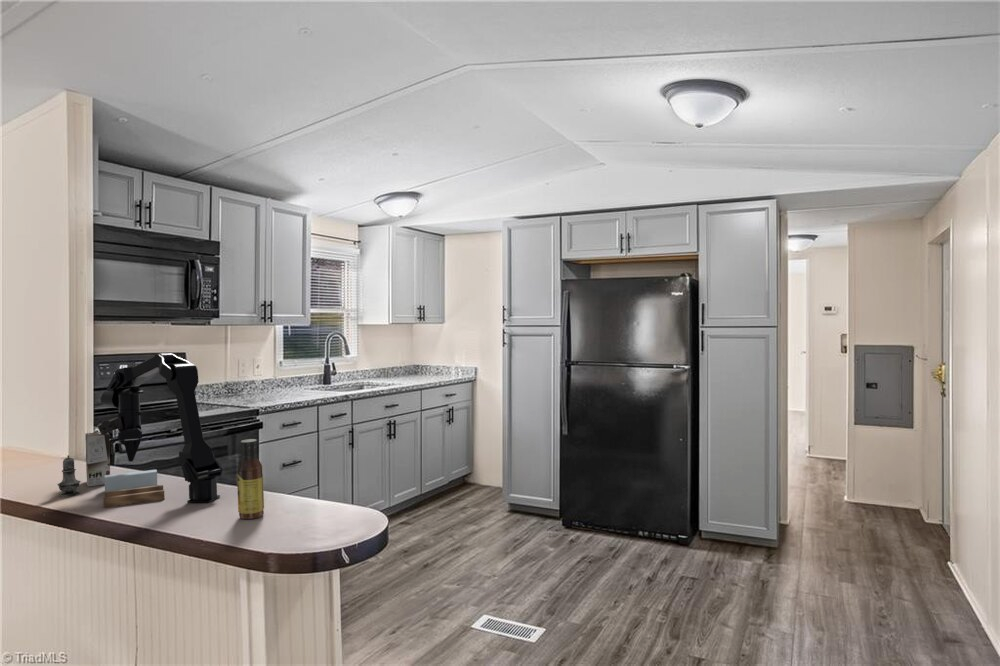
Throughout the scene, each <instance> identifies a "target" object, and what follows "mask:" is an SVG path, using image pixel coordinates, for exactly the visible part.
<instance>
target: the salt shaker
mask: <svg viewBox="0 0 1000 666" xmlns="http://www.w3.org/2000/svg"><path fill="white" fill-rule="evenodd" d="M76 470H77V469H76V468H75V459H74V458H72V457H70V455H69V454H68V455H67V456H66V457H65V458H63V461H62V470H61V473H62V480H61V481H60V482H59V483H57V484H56V485H57V486H58V489H59V491H61V492H62V493H60V494H59V495H58V497H59V498H69V497H74V496H79V494H80V492H79V491H77V490H78V488H79V487H80V483H81V482H82V480H78V479H76V475H75V473H76Z"/></svg>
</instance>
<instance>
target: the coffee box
mask: <svg viewBox="0 0 1000 666" xmlns="http://www.w3.org/2000/svg"><path fill="white" fill-rule="evenodd" d="M84 434H85V439H84V440H85V470H86V472H85V473H86V483H87V484H86V485H87V487H92V486H93V487H94V486H95V487H96V486H103V485H105V475H111V457H110V455H111V454H110V452H111V450H110V432H108V433H107V434H105V435H101V433H100V431H95V432H86V433H84Z"/></svg>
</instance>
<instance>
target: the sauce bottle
mask: <svg viewBox="0 0 1000 666" xmlns="http://www.w3.org/2000/svg"><path fill="white" fill-rule="evenodd" d="M239 442H240V443H239V444H240V445H239V446H240V450H241V452H240V453H241V456H240V462H239V465H238V467H237V470H236V483H237V484H236V485H237V510H238V514H239V515H238V516H239V518H240V519H241V520H255V519H258V518H260V517H263V515H264V512H265V511H264V509H265V498H264V497H265V496H264V491H265V490H264V474H263V466H262V463H261V461H260V460H259V458H258V452H257V451H258V448H257V447H258V439H255V438H249V439H243V440H241V441H239Z"/></svg>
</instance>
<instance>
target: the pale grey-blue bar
mask: <svg viewBox="0 0 1000 666" xmlns="http://www.w3.org/2000/svg"><path fill="white" fill-rule="evenodd" d="M156 485H158V470H157V469H149V470H141V471H140V470H139V471H131V472H130V471H129V472H124V473H122V472H121V473H113V474H110V475H105V484H104V492H108V491H116V490H124V489H132V488H140V487H148V486H156Z"/></svg>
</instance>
